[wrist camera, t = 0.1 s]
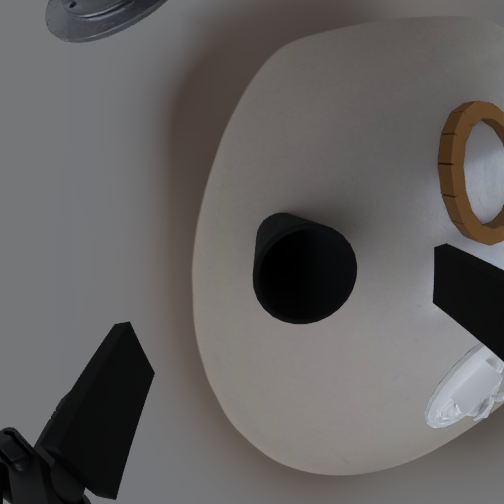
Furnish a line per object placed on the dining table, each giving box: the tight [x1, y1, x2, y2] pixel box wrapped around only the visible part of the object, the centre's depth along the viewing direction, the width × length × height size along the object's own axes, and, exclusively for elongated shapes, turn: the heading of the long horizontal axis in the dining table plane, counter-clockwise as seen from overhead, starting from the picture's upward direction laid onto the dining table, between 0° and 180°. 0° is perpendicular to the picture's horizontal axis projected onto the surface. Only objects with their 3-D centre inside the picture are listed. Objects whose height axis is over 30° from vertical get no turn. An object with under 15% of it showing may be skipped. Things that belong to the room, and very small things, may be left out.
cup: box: [253, 213, 357, 324], centre depth 25 cm, size 8×8×12 cm
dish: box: [425, 342, 504, 429], centre depth 37 cm, size 25×25×11 cm
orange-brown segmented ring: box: [438, 101, 504, 245], centre depth 29 cm, size 21×21×3 cm
